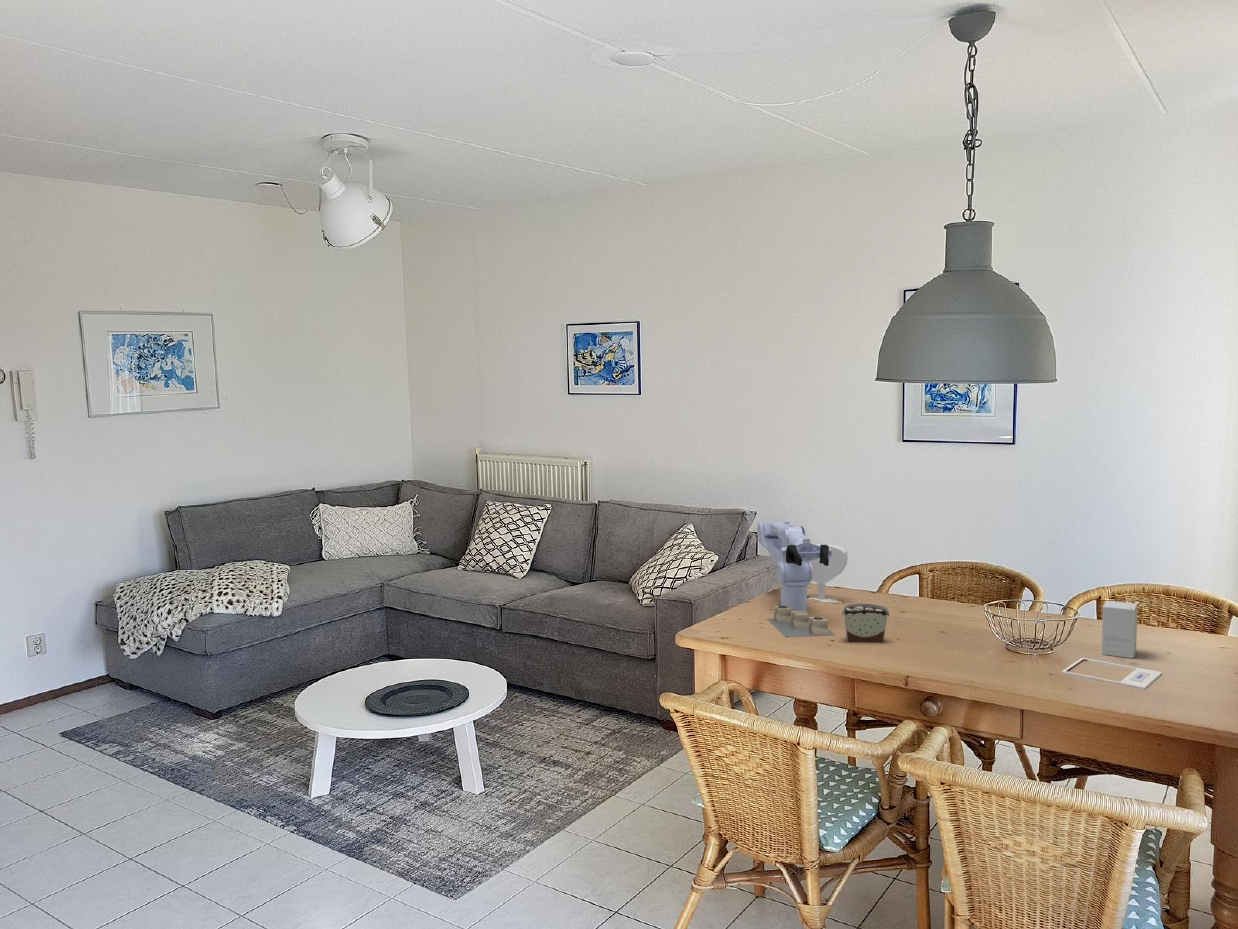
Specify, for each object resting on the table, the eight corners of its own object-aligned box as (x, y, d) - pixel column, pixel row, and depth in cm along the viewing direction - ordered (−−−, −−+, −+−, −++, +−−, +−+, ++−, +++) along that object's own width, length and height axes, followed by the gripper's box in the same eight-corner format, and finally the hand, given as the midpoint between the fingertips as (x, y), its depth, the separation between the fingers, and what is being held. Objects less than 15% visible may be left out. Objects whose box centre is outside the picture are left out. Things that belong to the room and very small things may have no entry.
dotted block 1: (774, 619, 278) (774, 605, 278) (787, 618, 278) (787, 604, 278) (777, 622, 274) (777, 608, 274) (791, 622, 274) (791, 608, 274)
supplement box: (1136, 651, 244) (1138, 603, 243) (1133, 659, 238) (1135, 609, 237) (1104, 647, 248) (1106, 600, 247) (1100, 654, 242) (1102, 606, 241)
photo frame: (1144, 686, 215) (1061, 670, 228) (1144, 691, 216) (1061, 675, 228) (1162, 671, 226) (1081, 656, 238) (1161, 676, 226) (1081, 661, 238)
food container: (885, 639, 259) (885, 603, 258) (889, 645, 253) (889, 608, 252) (838, 638, 260) (839, 602, 259) (841, 645, 254) (842, 608, 253)
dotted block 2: (808, 631, 265) (809, 616, 264) (822, 630, 265) (822, 616, 265) (813, 635, 261) (813, 620, 260) (827, 634, 261) (827, 619, 261)
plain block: (791, 625, 271) (791, 611, 271) (804, 624, 272) (804, 610, 271) (795, 628, 267) (795, 615, 267) (809, 628, 268) (809, 614, 268)
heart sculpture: (848, 601, 302) (848, 545, 300) (843, 604, 297) (844, 547, 296) (800, 596, 309) (800, 541, 307) (795, 599, 305) (795, 544, 303)
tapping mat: (766, 621, 279) (766, 618, 279) (812, 619, 280) (812, 616, 280) (786, 640, 259) (786, 637, 259) (835, 638, 261) (835, 635, 261)
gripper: (777, 533, 278) (789, 548, 265) (826, 533, 279) (840, 549, 266) (776, 556, 279) (787, 572, 266) (824, 556, 281) (838, 572, 268)
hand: (813, 562), depth 266 cm, fingers open, 7 cm apart
